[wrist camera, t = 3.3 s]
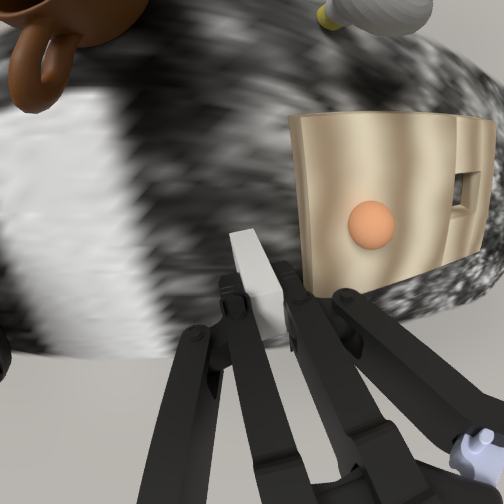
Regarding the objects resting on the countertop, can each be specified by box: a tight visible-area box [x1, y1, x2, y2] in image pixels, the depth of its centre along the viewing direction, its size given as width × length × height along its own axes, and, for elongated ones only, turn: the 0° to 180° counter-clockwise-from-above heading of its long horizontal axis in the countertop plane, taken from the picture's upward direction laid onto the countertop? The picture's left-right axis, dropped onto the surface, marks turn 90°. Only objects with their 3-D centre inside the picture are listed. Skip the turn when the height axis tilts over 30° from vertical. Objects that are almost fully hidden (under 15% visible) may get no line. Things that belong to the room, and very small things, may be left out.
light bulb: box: [317, 0, 433, 37], centre depth 11 cm, size 5×6×10 cm
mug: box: [0, 0, 149, 114], centre depth 8 cm, size 12×8×9 cm, turn 173°
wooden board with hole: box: [288, 111, 496, 298], centre depth 22 cm, size 22×15×2 cm
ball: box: [348, 201, 395, 250], centre depth 19 cm, size 3×3×3 cm
